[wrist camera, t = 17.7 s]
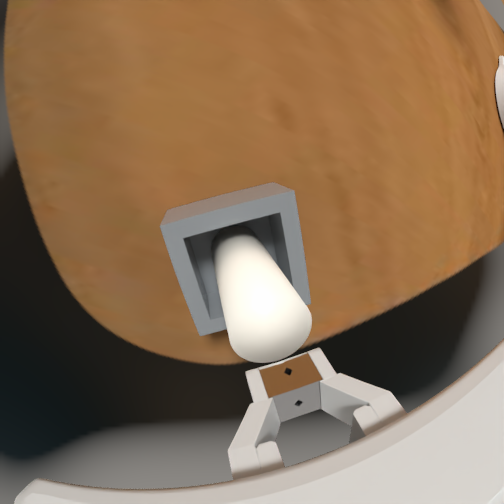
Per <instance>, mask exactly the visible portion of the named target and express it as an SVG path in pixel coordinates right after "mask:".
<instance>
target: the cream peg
mask: <svg viewBox="0 0 504 504" xmlns="http://www.w3.org/2000/svg"><path fill="white" fill-rule="evenodd" d="M211 254H212V260H213V265H214V270H215V275H216V280H217V285H218V289H219V294H220V299H221V304H222V308H223V313H224V318H225V322H226V327H227V331H228V336H229V340H230V344H231V346H232V348H233V350H234V351H235V352H236V353H237V354H238V355H239V356H240V357H242V358H244V359H246V360H248V361H252V362H257V363H265V362H266V363H267V362H273V361H277V360H280V359H283V358H285V357H287V356H289V355H290V354H292V353H294V352H295V351H296V350H297V349H299V348H300V347H301V345H302V344H303V343H304V342H305V341H306V339H307V337H308V335H309V333H310V330H311V325H312V318H311V314H310V311H309V309H308V308H307V306H306V305H305V303H304V302H303V300H302V299H301V298H300V296H299V295H298V293H297V292H296V291H295V289H294V288H293V286H292V285H291V284H290V282H289V281H288V279H287V278H286V276H285V275H284V274H283V272H282V271H281V269H280V268H279V267H278V265H277V264H276V262H275V261H274V260H273V258H272V257H271V255H270V254H269V253H268V251H267V250H266V249H265V247H264V246H263V244H262V243H261V242H260V240H259V239H258V237H257V236H256V235H255V233H254V232H253V231H251V230H250V229H248V228H246V227H244V226H230V227H227V228H225V229H223V230H221V231H220V232H219V233H218V234H217V235H216V236H215V238H214V240H213V242H212V245H211Z"/></svg>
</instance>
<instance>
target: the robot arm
mask: <svg viewBox="0 0 504 504" xmlns="http://www.w3.org/2000/svg"><path fill="white" fill-rule="evenodd" d="M495 87H496V97H497V104H498V109H499V113H500V117H501V121H502V125H503V128H504V56H499V67H498V69H497V72H496V78H495ZM246 377H247V381H248V384H249V388H250V392H251V395H252V399H253V402H254V403H251V404H250V405H249V407H248V409H247V411H246V414H245V416H244V418H243V420H242V422H241V424H240V426H239V429H238V431H237V433H236V435H235V437H234V439H233V441H232V443H231V445H230V447H229V449H228V455H229V460H230V465H231V470H232V475H233V480H231V481H226V482H220V483H214V484H207V485H199V486H190V487H179V488H163V489H115V488H102V487H92V486H83V485H75V484H69V483H63V482H58V481H53V480H48V479H44V478H37V479H35V480H34V481H32V482H31V483H30V484H29V485H28V486H27V487H26V488H25V489H24V490H23V491H22V492H21V493H20V494H19V495H18V496H17V497H16V500H15V502H14V504H504V339H503V340H502V341H501V342H500V343H499V344H498V345H497V346H496V347H495V348H493V350H491V352H489V353H488V354H487V355H486V356H485V357H484V358H483V359H482V360H480V361H479V362H478V363H477V364H476V365H475V366H473V367H472V368H471V369H470V370H468V371H467V372H466V373H465V374H464V375H462V376H461V377H460V378H459V379H457V380H456V381H455V382H453V383H452V384H451V385H450V386H448V387H447V388H445V389H444V390H442V391H441V392H440V393H438V394H437V395H436V396H434V397H433V398H431V399H430V400H428V401H427V402H425V403H424V404H422V405H420V406H419V407H417V408H416V409H414V410H412V411H411V412H409V413H406V411H405V410H404V409H403V408H402V406H401V405H400V404H399V402H398V401H397V400H396V398H395V397H394V396H393V394H392V393H391V392H390V391H387V390H384V389H381V388H379V387H376V386H373V385H370V384H368V383H365V382H362V381H359V380H357V379H354V378H352V377H349V376H347V375H344V374H342V373H339V374H336V372H335V371H334V369H333V368H332V366H331V364H330V363H329V361H328V360H327V358H326V357H325V355H324V354H323V352H322V350H321V349H320V348H317V349H314V350H311V351H308V352H307V353H303V354H300V355H297V356H294V357H292V358H289V359H286V360H283V361H280V362H277V363H273V364H270V365H267V366H263V367H259V369H258V368H256V369H253V370H249V371H246ZM318 409H322V410H324V411H325V412H327V413H329V414H330V415H332V416H334V417H336V418H337V419H339V420H341V421H343V422H344V423H346V424H348V425H350V426H352V427H351V434H350V441H349V443H350V444H347V445H345V446H343V447H341V448H338V449H336V450H333V451H331V452H328V453H326V454H323V455H320V456H318V457H315V458H312V459H309V460H307V461H304V462H301V463H298V464H295V465H292V466H288V467H285V466H284V463H283V460H282V458H281V455H280V452H279V450H278V447H277V444H276V443H275V441H276V437H277V434H278V431H279V427H280V423H281V422H284V421H287V420H289V419H292V418H295V417H298V416H300V415H303V414H306V413H309V412H312V411H315V410H318Z"/></svg>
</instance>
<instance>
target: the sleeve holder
mask: <svg viewBox="0 0 504 504" xmlns="http://www.w3.org/2000/svg"><path fill="white" fill-rule="evenodd" d="M230 226H244V227H246V228H248V229H250V230H251V231H253V232H254V233H255V235H256V236H257V237H258V239H259V240H260V242H261V243H262V244H263V246H264V247H265V249H266V250H267V251H268V253H269V254H270V255H271V257H272V258H273V260H274V261H275V262H276V264H277V265H278V267H279V268H280V269H281V271H282V272H283V274H284V275H285V276H286V278H287V279H288V281H289V282H290V284H291V285H292V286H293V288H294V289H295V291H296V292H297V293H298V295H299V296H300V298H301V299H302V300H303V302H304V303H305V305H308V304H311V300H310V292H309V284H308V277H307V269H306V262H305V255H304V248H303V242H302V235H301V229H300V222H299V216H298V210H297V204H296V198H295V193H294V190H291V189H289V188H287V187H284V186H282V185H279V184H277V183H274V182H272V183H268V184H263V185H259V186H255V187H251V188H247V189H243V190H239V191H235V192H231V193H227V194H223V195H219V196H215V197H212V198H208V199H204V200H200V201H197V202H193V203H190V204H186V205H183V206H179V207H176V208H172V209H169V210H167V212H166V214H165V216H164V218H163V220H162V222H161V225H160V228H161V231H162V234H163V237H164V240H165V243H166V246H167V249H168V252H169V255H170V258H171V261H172V264H173V267H174V270H175V273H176V275H177V278H178V281H179V284H180V286H181V289H182V292H183V294H184V297H185V300H186V302H187V305H188V307H189V310H190V313H191V315H192V318H193V320H194V323H195V325H196V328H197V330H198V333H199V335H200V336H203V335H207V334H210V333H214V332H218V331H222V330H225V329H227V327H226V322H225V318H224V313H223V308H222V304H221V299H220V294H219V289H218V285H217V280H216V275H215V270H214V265H213V260H212V254H211V245H212V242H213V240H214V238H215V236H216V235H217V234H218V233H219V232H220V231H221V230H223V229H225V228H227V227H230Z"/></svg>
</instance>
